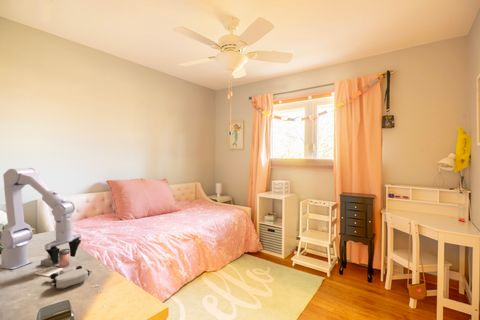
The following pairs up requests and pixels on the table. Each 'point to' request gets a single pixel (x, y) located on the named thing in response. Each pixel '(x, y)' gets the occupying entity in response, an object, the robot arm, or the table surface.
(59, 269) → the cream rectangular plate
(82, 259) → the table surface
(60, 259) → the marker
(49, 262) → the button housing
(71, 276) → the robot toy
